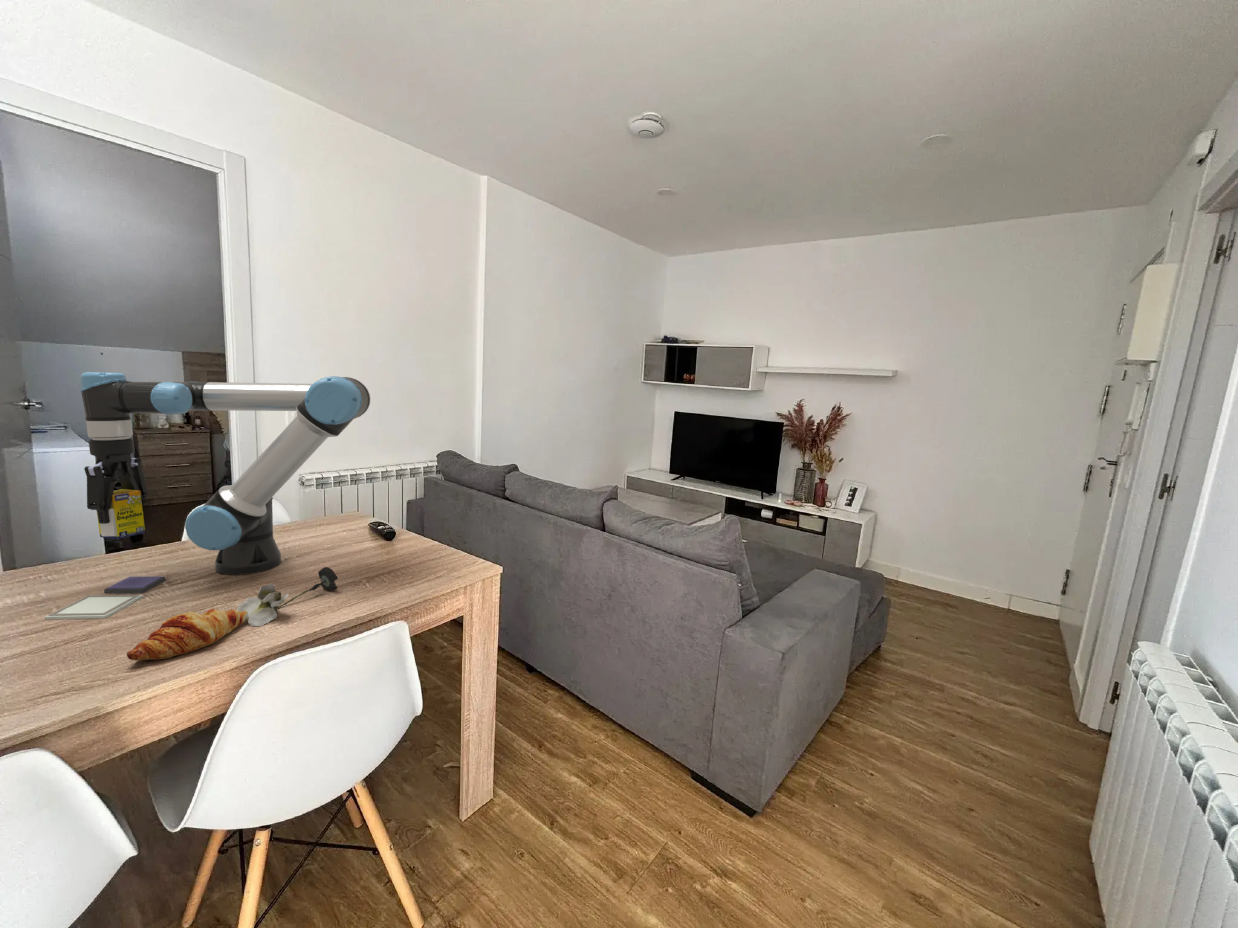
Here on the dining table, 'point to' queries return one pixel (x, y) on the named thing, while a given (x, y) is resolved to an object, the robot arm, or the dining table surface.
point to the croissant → (187, 634)
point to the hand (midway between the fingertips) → (123, 530)
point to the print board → (94, 607)
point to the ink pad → (135, 585)
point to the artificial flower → (278, 599)
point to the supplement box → (127, 513)
